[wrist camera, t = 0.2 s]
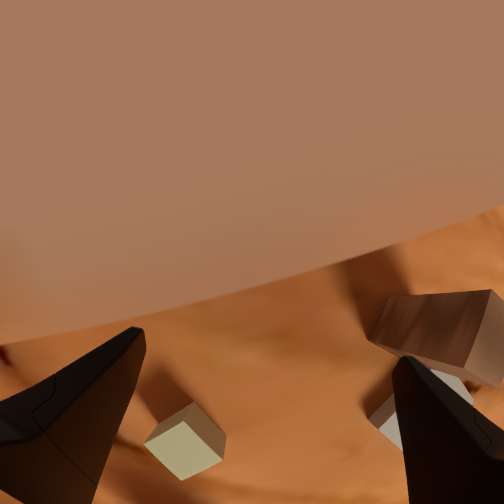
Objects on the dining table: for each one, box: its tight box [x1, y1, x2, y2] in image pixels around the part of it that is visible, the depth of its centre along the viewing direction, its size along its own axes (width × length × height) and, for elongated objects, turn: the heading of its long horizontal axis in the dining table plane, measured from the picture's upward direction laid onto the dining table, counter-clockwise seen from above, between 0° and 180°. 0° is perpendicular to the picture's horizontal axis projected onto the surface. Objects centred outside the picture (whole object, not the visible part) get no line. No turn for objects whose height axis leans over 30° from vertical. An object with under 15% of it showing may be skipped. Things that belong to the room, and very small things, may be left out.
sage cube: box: [144, 402, 226, 481], centre depth 19 cm, size 4×4×4 cm
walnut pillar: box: [368, 289, 504, 389], centre depth 17 cm, size 4×4×13 cm
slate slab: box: [368, 367, 474, 451], centre depth 21 cm, size 9×9×3 cm
